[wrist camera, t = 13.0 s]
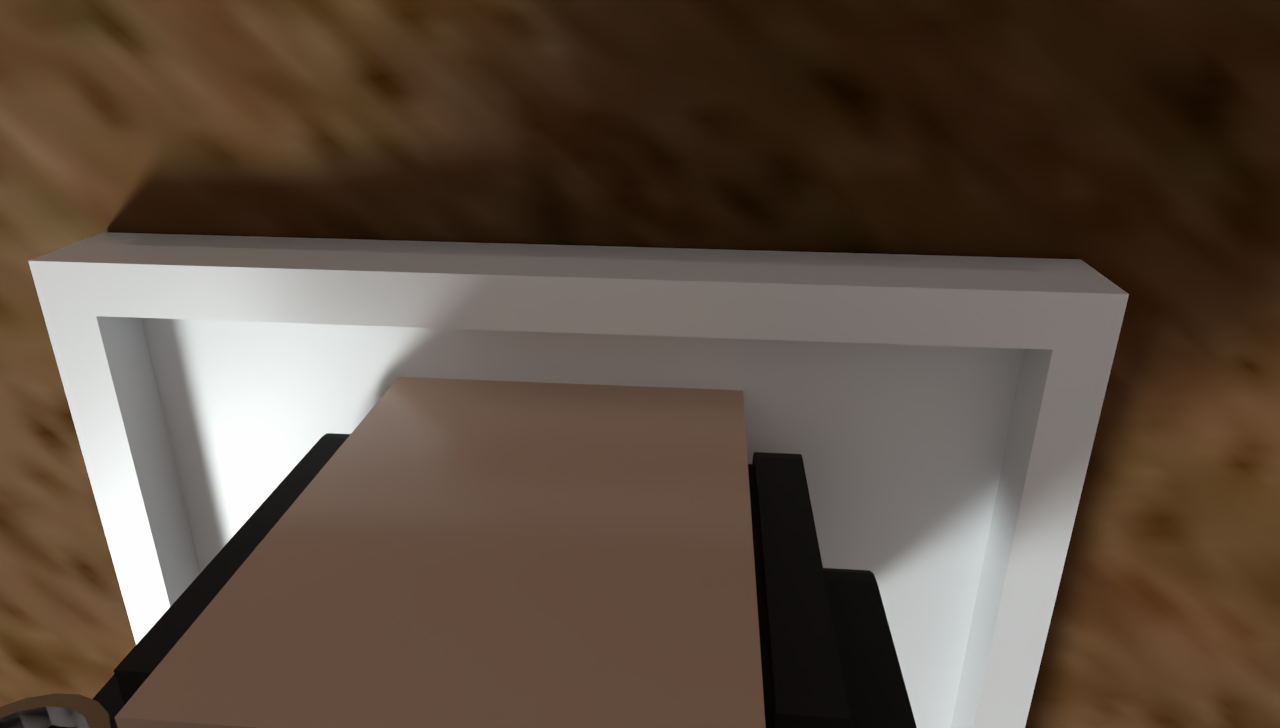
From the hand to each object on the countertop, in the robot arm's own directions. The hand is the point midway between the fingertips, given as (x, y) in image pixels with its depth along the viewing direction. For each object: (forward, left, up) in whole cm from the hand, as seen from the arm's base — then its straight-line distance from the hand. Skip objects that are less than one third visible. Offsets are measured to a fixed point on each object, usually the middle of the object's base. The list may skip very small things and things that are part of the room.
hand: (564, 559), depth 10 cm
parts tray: (0, +4, -1) cm, 4 cm away
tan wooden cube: (0, 0, -1) cm, 1 cm away
